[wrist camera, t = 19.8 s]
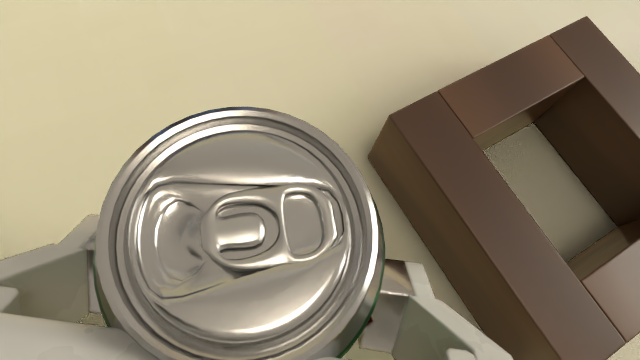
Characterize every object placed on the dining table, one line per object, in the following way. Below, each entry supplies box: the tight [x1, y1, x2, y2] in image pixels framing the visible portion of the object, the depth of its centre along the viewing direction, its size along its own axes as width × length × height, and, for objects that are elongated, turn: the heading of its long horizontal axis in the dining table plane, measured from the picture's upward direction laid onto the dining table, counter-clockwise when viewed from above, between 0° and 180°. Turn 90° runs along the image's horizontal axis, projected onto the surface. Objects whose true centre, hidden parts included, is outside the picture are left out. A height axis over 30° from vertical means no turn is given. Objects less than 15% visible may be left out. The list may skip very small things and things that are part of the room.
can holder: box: [368, 16, 640, 360], centre depth 19 cm, size 11×11×4 cm
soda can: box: [93, 107, 385, 360], centre depth 13 cm, size 5×5×12 cm
